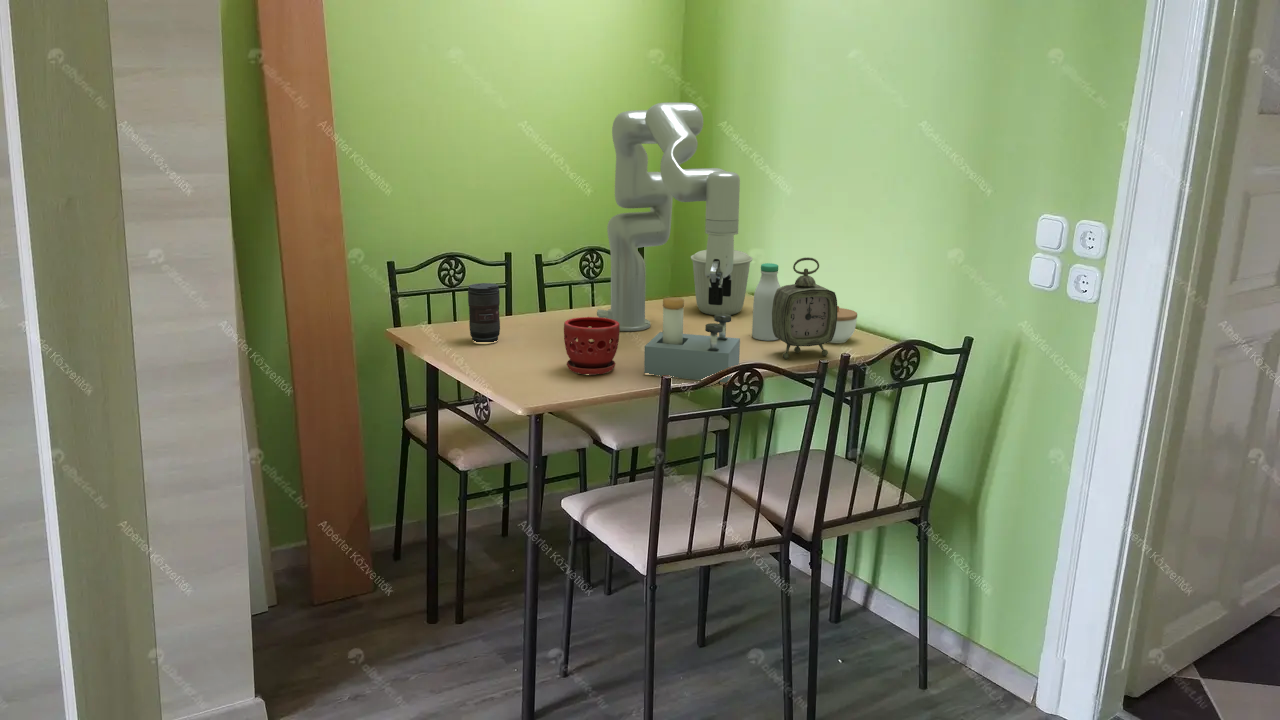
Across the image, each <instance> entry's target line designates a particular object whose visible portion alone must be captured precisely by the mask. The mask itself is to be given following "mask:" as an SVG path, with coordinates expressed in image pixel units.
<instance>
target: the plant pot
mask: <svg viewBox="0 0 1280 720" xmlns="http://www.w3.org/2000/svg"><path fill="white" fill-rule="evenodd" d="M619 330H620V324H619V322H617V321H615V320H612V319H608V318H600V317H598V316H584V317H583V316H582V317H573V318H569V319H567V320H565V321H564V324H563V339H564V340H563V341H564V348H565V350H566V351H565V352H566V354H567V356H568V358H569V359H568V360H567V361H566V366H567V368H568V370H570V371H571V372H573V373H574V374H578V373H579V374H578V375H583V374H589V375H588V376H596V374H600V375H603V374H604V375H605V374H607V372H608V373H610V372H612V371H613V370H614V369H615V367H616V361H614V358H615V356H616V353H617V352H618V345H619V340H620V331H619ZM590 340H592V341H590Z"/></svg>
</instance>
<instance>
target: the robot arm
mask: <svg viewBox="0 0 1280 720" xmlns="http://www.w3.org/2000/svg"><path fill="white" fill-rule="evenodd" d="M703 127H704V116H703V113H702V110H701V109H700V107H699V106H697V104H695V103H692V102H683V101H682V102H678V101H677V102H669V101H668V102H658V103H655V104H653V105H651V106H650V107H649V108H648V109H639V110H635V109H634V110H626V111H622V112H620V113H618V114H617V115H616V117H614V120H613V123H612V128H611V135H612V141H613V146H614V151H615V171H614V172H615V174H614V175H615V176H614V199H615V203H616V205H617V206H618V207H620V208H623V209H648V208H649V210H650V211H637V212H636V211H634V212H622V213H619V214H618V213H617V214H615V215H614V216H612V217H610V219H609V220H608V223H607V229H606V230H607V231H606V232H607V237H608V243H609V250H610V308H608V310H605V309H597V311H596V317H600V318H608V319H612V320H615V321H617V322H619V324H620V330H619V332H636V331H637V332H639V331H644V330H647V329H649V328H651V321H650V320H649V319H646V263H645V260H644V258H643V256H642V254H640V252H639V251H638V249H639V248H643V247H644V248H647V247H649V248H650V247H658V246H663V245H666V243H667V242H668V240H669V239H670V235H671V227H672V216H673V215H672V213H673V212H672V211H673V202H674V201H673V199H675V200H676V201H678V202H680V203H693V202H705V227H704V228H705V230H704V231H705V232H704V233H705V234H706V235H708V236H707V241H706V242H707V243H706V250H707V251H706V266H705V276H706V277H709V276H710V282H709V300H708V303H709V304H710V305H722V304H723V296H726V297H730V296H731V280H729V279H731V272H732V270H733V260H734V250H735V246H734V245H735V244H734V243H735V240H734V239H735V238H734V236H735V235H738V234H739V220H740V219H739V218H740V217H739V216H740V189H741V187H740V186H741V179H740V176H739V174H738V173H737V172H735V171H734V172H733V171H726V170H724V169H722V168H720V167H711V168H709V167H708V168H704V167H703V168H702V167H701V168H682V167H681V166H680V165H682V164H684V163H686V162H687V161H689V160H690V159H691V158H692V157H694V155H695V154H696V152H697V149H698V139H697V136H699V134H700V133H701V132H702V130H703ZM644 144H645V145H650V144H651V145H654V144H657V145H658V146H659V148H660V150H661V151H662V152H663V154H662V156H661V160H660V171H648V164H649V157H648V156H649V155H648V152H647V151H646V149H645V147H644Z"/></svg>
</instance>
